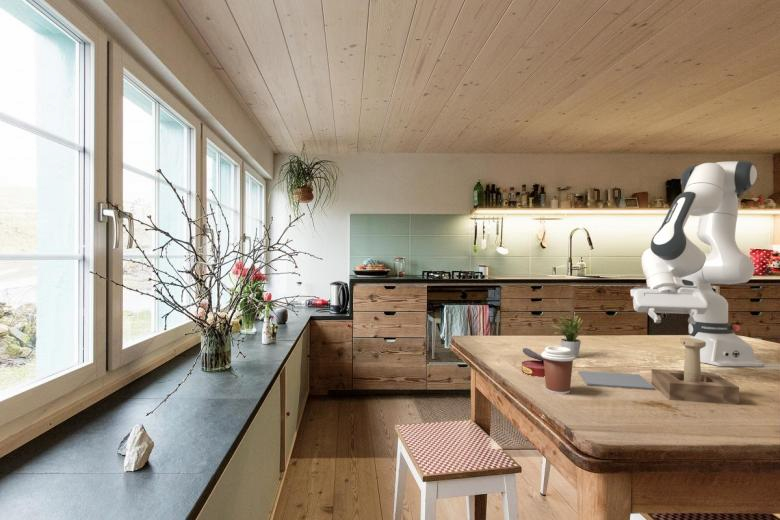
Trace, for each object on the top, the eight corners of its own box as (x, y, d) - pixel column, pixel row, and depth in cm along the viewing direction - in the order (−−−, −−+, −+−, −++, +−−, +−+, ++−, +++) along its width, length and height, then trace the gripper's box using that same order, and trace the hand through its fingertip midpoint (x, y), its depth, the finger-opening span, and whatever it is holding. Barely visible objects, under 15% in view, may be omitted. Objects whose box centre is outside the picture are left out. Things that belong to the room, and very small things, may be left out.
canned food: (522, 383, 146) (518, 354, 151) (554, 382, 144) (549, 352, 149) (523, 376, 137) (519, 345, 141) (557, 374, 135) (552, 343, 139)
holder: (712, 388, 126) (713, 372, 126) (738, 404, 113) (739, 387, 113) (651, 384, 130) (651, 369, 130) (669, 399, 117) (669, 382, 117)
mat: (639, 376, 138) (639, 374, 138) (654, 390, 125) (654, 387, 125) (578, 372, 143) (578, 370, 143) (586, 385, 129) (586, 383, 129)
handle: (692, 389, 125) (692, 337, 125) (709, 397, 118) (710, 342, 118) (675, 390, 125) (676, 337, 124) (691, 397, 118) (692, 342, 118)
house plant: (556, 349, 176) (556, 309, 175) (593, 354, 167) (593, 312, 167) (545, 356, 164) (546, 313, 164) (585, 362, 156) (585, 316, 156)
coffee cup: (557, 397, 118) (557, 353, 118) (534, 388, 127) (534, 346, 126) (582, 393, 122) (582, 350, 122) (557, 384, 130) (558, 344, 130)
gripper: (630, 280, 143) (640, 314, 133) (702, 282, 138) (716, 317, 129) (626, 293, 147) (635, 327, 138) (695, 294, 142) (709, 329, 133)
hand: (675, 322), depth 133 cm, fingers open, 8 cm apart
